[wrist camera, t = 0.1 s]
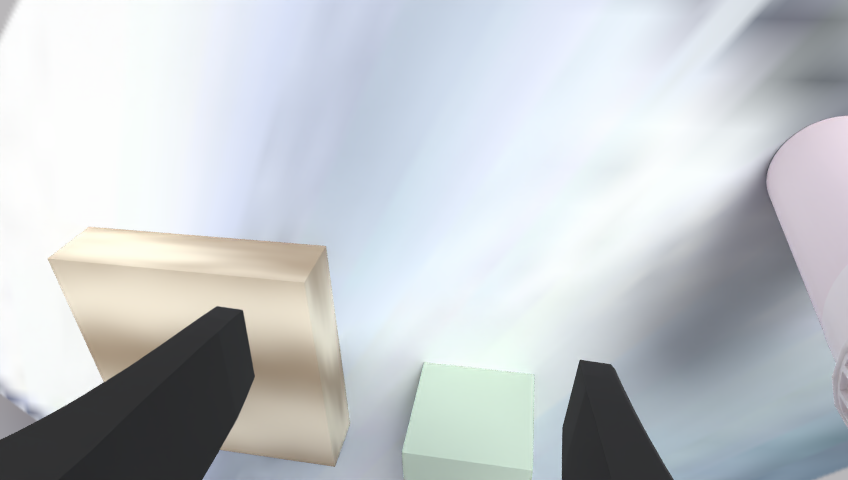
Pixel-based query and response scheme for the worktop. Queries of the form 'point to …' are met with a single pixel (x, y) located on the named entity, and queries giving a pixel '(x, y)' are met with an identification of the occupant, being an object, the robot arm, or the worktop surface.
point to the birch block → (201, 292)
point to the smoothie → (819, 229)
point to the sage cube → (470, 425)
